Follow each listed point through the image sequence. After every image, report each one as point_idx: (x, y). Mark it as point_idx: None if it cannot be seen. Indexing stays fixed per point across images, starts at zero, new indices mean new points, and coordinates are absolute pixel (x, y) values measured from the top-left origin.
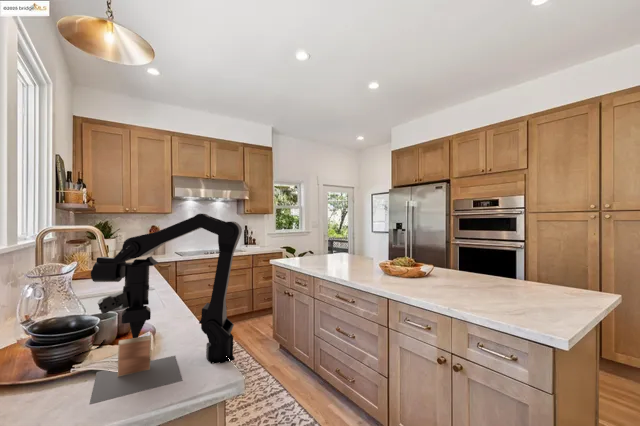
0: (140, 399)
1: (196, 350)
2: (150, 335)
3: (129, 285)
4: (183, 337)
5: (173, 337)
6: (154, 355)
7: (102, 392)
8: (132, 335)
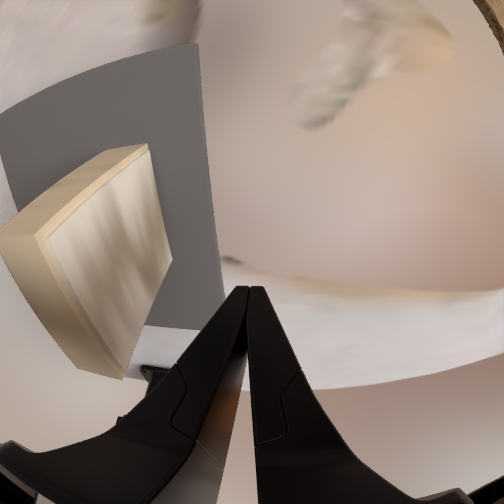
0: None
1: None
2: (117, 378)
3: None
4: (393, 351)
5: (419, 330)
6: (294, 275)
7: (26, 130)
8: (220, 306)
